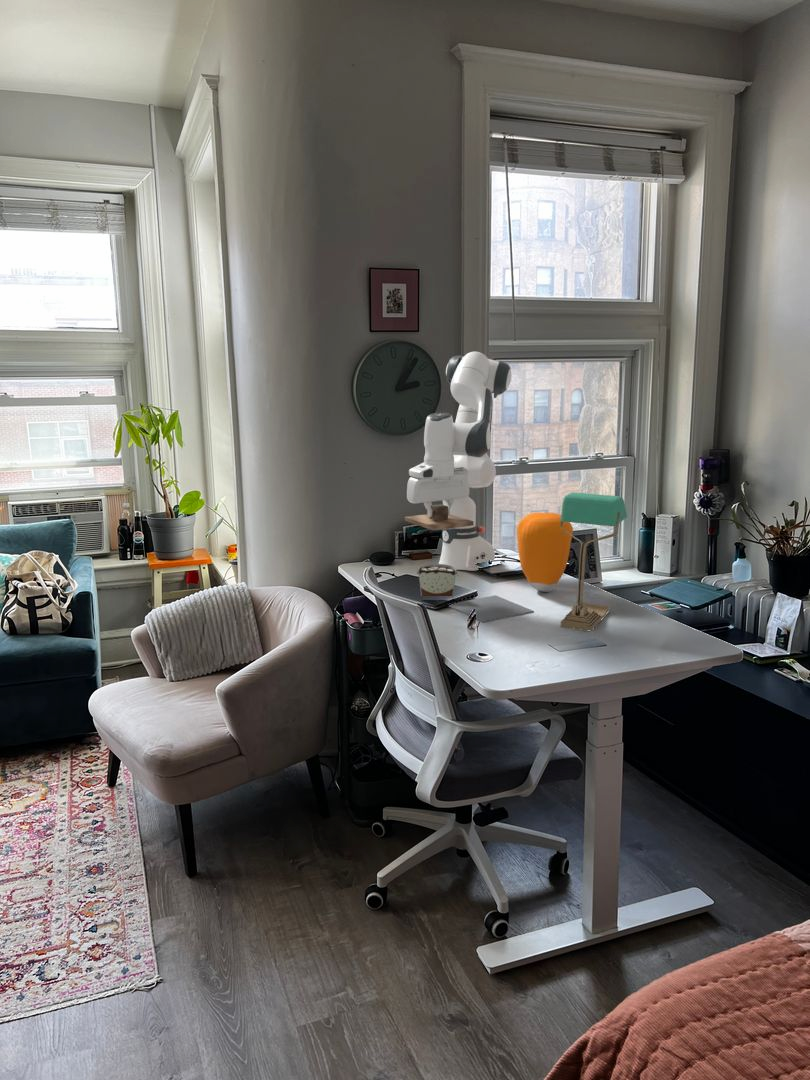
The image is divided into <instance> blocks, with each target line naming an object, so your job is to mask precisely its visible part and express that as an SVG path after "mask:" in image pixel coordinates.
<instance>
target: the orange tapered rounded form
mask: <svg viewBox="0 0 810 1080" xmlns="http://www.w3.org/2000/svg"><path fill="white" fill-rule="evenodd" d="M560 521H561V514H559V513H556V512H532V513H528V514H527V515H525V516H524V517H523V518H522V519H521V520H520V521H519V522H518V524H517V528H516V537H517V549H518V557H519V562H520V563H519V564H520V567H521V570H522V572H523V574H524V576H525V577H526V580H527V581H528V583H529V584H530V586H531V587H532V588H533V589H534V590H536V591H538V592H544V593H548V592H551V591H552V590H553V589H554V588H555V586H556V584H557V583H558V582H559V581H560V579H561V578H562V576H563V574H564V572H565V571H566V567H567V565H568V561H569V555H570V549H571V543H572V540H573V539H572V538H573V537H572V536H570V535H568V534H567V533H565V532H564V531H563V530H562V529H561V527H560ZM573 527H574V526H572V522H563V525H562V528H563V529H564V530H566V531H567V532H568V533H570V534H571V535H573V534H574V533H573V532H574V528H573Z"/></svg>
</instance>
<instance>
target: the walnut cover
mask: <svg viewBox="0 0 810 1080" xmlns="http://www.w3.org/2000/svg"><path fill="white" fill-rule="evenodd" d="M430 507H431V509H432V510H434V511H435V513H434V514H435V515H434V516H432V517H429V516H427V513H426V514H417V515H416V514H415V515H409V516H404V521H405V522H408V523H410V524H412V525H416V526H419V527H422V528H425V529H426V530H427V529H428V530H430V531H432V532H434V531H442V529H450V528H458V527H465V526H473V525H474V521H471V520H467V519H464V518H461V517H457V516H454V515H451V514H448V506H445V505H443V503H442V504H441V503H440V504H432V505H430Z"/></svg>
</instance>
